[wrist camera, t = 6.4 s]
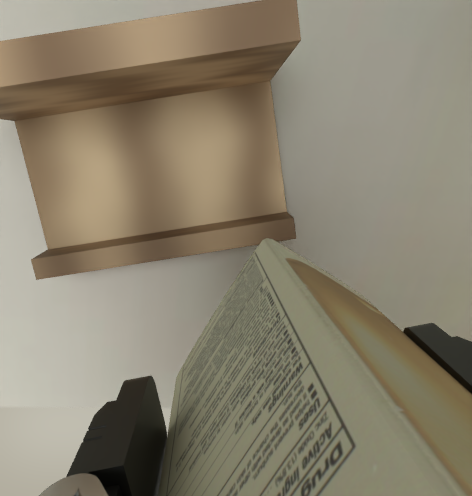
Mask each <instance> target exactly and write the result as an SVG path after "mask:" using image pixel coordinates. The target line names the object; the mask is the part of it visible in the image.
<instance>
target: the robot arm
mask: <svg viewBox="0 0 472 496" xmlns="http://www.w3.org/2000/svg"><path fill="white" fill-rule="evenodd" d="M403 333H405V334H406V335H407V336H408V337H409V338H410V339H411V340H412V341H413V342H415V343H416V344H417V345H418V346H419V347H420V348H421V349H422V350H423V351H425V352H426V353H427V354H428V355H429V356H430V357H431V358H432V359H433V360H435V361H436V362H437V363H438V364H439V365H440V366H441V367H442V368H443V369H445V370H446V371H447V372H448V373H449V374H450V375H451V376H452V377H454V378H455V379H456V380H457V381H458V382H459V383H460V384H461V385H462V386H464V387H465V388H466V389H467V390H468V391H469V392H470V393H471V394H472V342H471V341H468V340H465V339H463V338H460V337H457V336H456V337H451V336H449V335H448V334H447V333H446V332H444V331H443V330H442V329H440V328H439V327H438V326H437V325H435V324H434V323H428V324H423V325H418V326H413V327H407V328H405V329H404V332H403ZM88 429H89V431H87V433H86V435H85V437H84V439H83V443H82V444H81V446H80V448H79V450H78V452H77V455H76V457H75V459H74V462H73V463H72V466H71V468H70V470H69V472H68V474H67V477H66V478H63V479H61V480H59V481H57V482H56V483H54V484H52V485H51V486H49V487H48V488H47V489H46V490H44V491H43V492H42V493H41V494H40V495H39V496H158V492H159V485H160V480H161V473H162V467H163V461H164V454H165V448H166V442H167V432H166V426H165V421H164V417H163V413H162V409H161V405H160V401H159V397H158V393H157V389H156V385H155V382H154V379H153V377H152V376H146V377H141V378H136V379H131V380H125V381H124V383H123V385H122V387H121V390H120V392H119V395H118V398H117V400H116V401H111V402H107V403H106V404H105V405H104V406H103V407H102V408H101V409H100V410H99V411H98V412H97V413H96V414H95V415H94V417H93V420H92V422H91V424H90V426H89V428H88Z"/></svg>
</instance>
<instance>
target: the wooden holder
mask: <svg viewBox="0 0 472 496" xmlns="http://www.w3.org/2000/svg"><path fill="white" fill-rule="evenodd" d="M300 41H301V37H300V27H299V18H298V9H297V0H261V1H255V2H248V3H242V4H236V5H229V6H223V7H216V8H210V9H203V10H197V11H191V12H184V13H178V14H171V15H165V16H159V17H152V18H146V19H139V20H133V21H126V22H120V23H114V24H107V25H101V26H94V27H88V28H82V29H75V30H69V31H62V32H56V33H49V34H43V35H37V36H30V37H24V38H17V39H11V40H5V41H0V119H4V120H11V121H15V125H16V128H17V132H18V136H19V140H20V144H21V148H22V151H23V155H24V159H25V163H26V167H27V170H28V174H29V178H30V182H31V186H32V190H33V193H34V197H35V201H36V205H37V209H38V213H39V216H40V220H41V224H42V228H43V232H44V236H45V239H46V243H47V247H48V250H46V251H45V252H43V253H41V254H40V255H38V256H36V257H35V258H33V259H31V261H32V265H33V269H34V272H35V276H36V280H38V279H44V278H50V277H57V276H63V275H69V274H76V273H82V272H88V271H95V270H101V269H107V268H113V267H120V266H126V265H132V264H139V263H145V262H151V261H157V260H164V259H170V258H176V257H183V256H189V255H195V254H202V253H208V252H214V251H220V250H227V249H233V248H239V247H246V246H252V245H258V244H260V243H261V241H262V240H264V239H266V238H269V239H273V240H275V241H276V242H277V241H283V240H290V239H296V233H295V224H294V218H293V217H292V216H291V215H290V214H289V213H288V212H287V209H286V202H285V194H284V186H283V178H282V170H281V162H280V154H279V146H278V139H277V131H276V123H275V115H274V107H273V99H272V91H271V84H270V80H271V79H272V78H273V76H274V75H275V74H276V72H277V71H278V70H279V68H280V67H281V66H282V64H283V63H284V62H285V60H286V59H287V58H288V57H289V55H290V54H291V53H292V51H293V50H294V49H295V47H296V46H297V45H298V43H299V42H300Z"/></svg>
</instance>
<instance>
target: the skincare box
mask: <svg viewBox="0 0 472 496" xmlns="http://www.w3.org/2000/svg"><path fill="white" fill-rule="evenodd" d="M158 496H472V394H471V393H470V392H469V391H468V390H467V389H466V388H465V387H464V386H462V385H461V384H460V383H459V382H458V381H457V380H456V379H455V378H454V377H452V376H451V375H450V374H449V373H448V372H447V371H446V370H445V369H443V368H442V367H441V366H440V365H439V364H438V363H437V362H436V361H435V360H433V359H432V358H431V357H430V356H429V355H428V354H427V353H426V352H425V351H423V350H422V349H421V348H420V347H419V346H418V345H417V344H416V343H415V342H413V341H412V340H411V339H410V338H409V337H408V336H407V335H406V334H405V333H403V332H402V331H401V330H400V329H399V328H398V327H397V326H396V325H394V324H393V323H392V322H391V321H390V320H389V319H388V318H387V317H385V316H384V315H383V314H382V313H381V312H380V311H379V310H378V309H377V308H376V307H374V306H373V305H372V304H371V303H370V302H369V301H368V300H367V299H366V298H364V297H363V296H362V295H361V294H359V293H357V292H356V291H354V290H353V289H351V288H350V287H348V286H347V285H345V284H344V283H342V282H341V281H339V280H338V279H336V278H335V277H333V276H331V275H330V274H328V273H327V272H325V271H324V270H322V269H321V268H319V267H317V266H316V265H314V264H313V263H311V262H310V261H308V260H306V259H305V258H303V257H301V256H300V255H298V254H296V253H295V252H293V251H291V250H290V249H288V248H286V247H285V246H283V245H281V244H280V243H278V242H276V241H275V240H273V239H269V238H266V239H264V240H262V241H261V243H260V244H259V246H258V247H257V248H256V250H255V251H254V253H253V254H252V256H251V257H250V259H249V260H248V262H247V263H246V265H245V266H244V268H243V269H242V271H241V272H240V274H239V275H238V277H237V278H236V280H235V281H234V283H233V284H232V286H231V287H230V289H229V291H228V292H227V294H226V295H225V297H224V298H223V300H222V302H221V303H220V305H219V307H218V308H217V310H216V311H215V313H214V315H213V316H212V318H211V319H210V321H209V323H208V324H207V326H206V328H205V329H204V331H203V332H202V334H201V336H200V337H199V339H198V341H197V342H196V344H195V346H194V348H193V349H192V351H191V353H190V354H189V356H188V358H187V360H186V361H185V363H184V365H183V367H182V368H181V370H180V372H179V373H178V376H177V378H176V384H175V391H174V397H173V403H172V409H171V417H170V423H169V430H168V436H167V442H166V448H165V454H164V461H163V467H162V473H161V480H160V485H159V492H158Z"/></svg>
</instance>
